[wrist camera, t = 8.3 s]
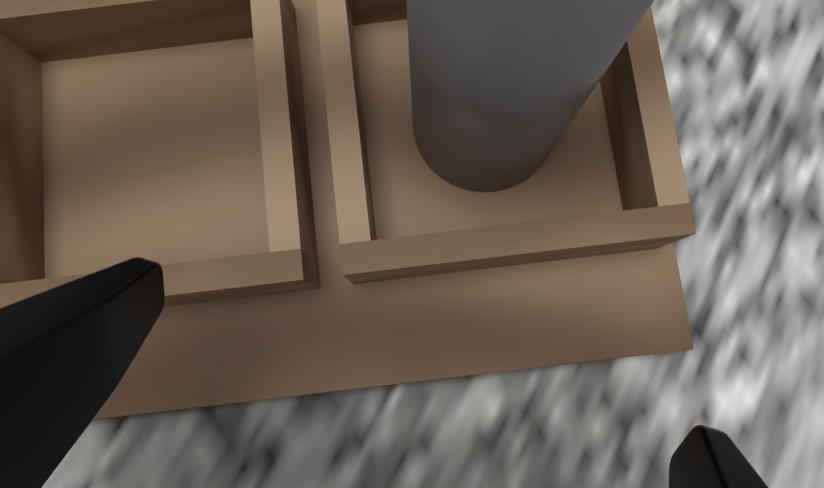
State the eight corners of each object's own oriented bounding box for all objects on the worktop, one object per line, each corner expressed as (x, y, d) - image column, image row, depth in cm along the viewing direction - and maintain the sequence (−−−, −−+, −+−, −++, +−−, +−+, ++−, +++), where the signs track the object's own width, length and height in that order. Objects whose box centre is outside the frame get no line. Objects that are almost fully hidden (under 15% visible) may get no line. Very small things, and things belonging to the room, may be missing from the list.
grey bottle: (585, 134, 18) (1012, -406, 5) (472, 221, 18) (611, -116, 5) (495, 29, 19) (662, -697, 6) (384, 110, 18) (284, -463, 5)
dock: (675, 348, 18) (739, 350, 14) (29, 424, 18) (-71, 445, 14) (595, -87, 20) (632, -179, 17) (25, -19, 21) (-61, -97, 17)
